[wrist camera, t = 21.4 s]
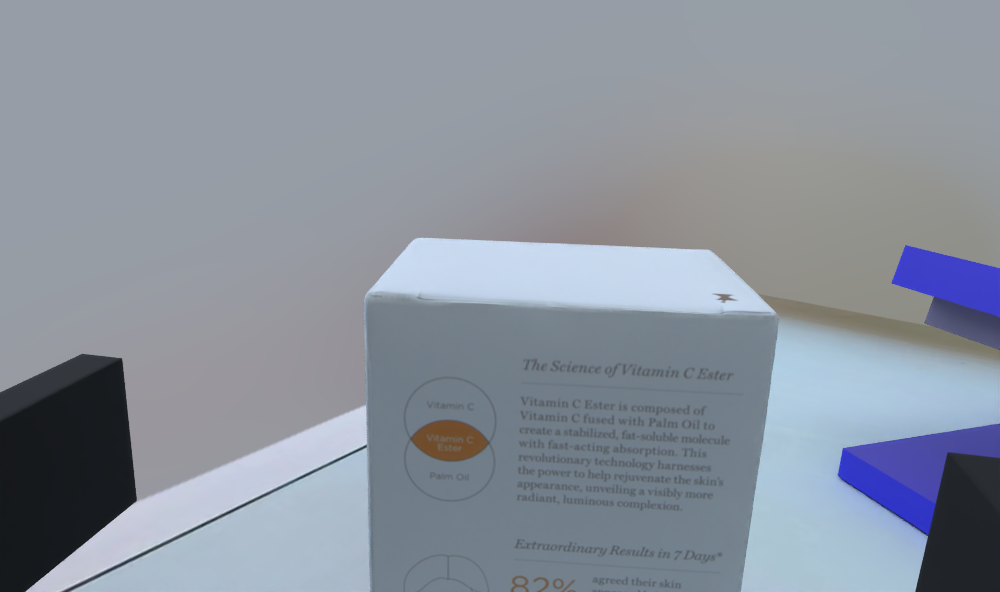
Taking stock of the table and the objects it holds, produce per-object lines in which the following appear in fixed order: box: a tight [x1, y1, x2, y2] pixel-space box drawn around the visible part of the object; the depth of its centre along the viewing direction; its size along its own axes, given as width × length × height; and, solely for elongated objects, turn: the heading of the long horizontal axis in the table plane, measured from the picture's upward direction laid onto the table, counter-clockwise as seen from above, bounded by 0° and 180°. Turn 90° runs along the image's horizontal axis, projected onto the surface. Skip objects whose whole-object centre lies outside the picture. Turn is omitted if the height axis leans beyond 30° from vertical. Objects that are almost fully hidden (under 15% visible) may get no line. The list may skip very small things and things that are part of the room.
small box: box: [364, 238, 778, 592], centre depth 18 cm, size 8×6×10 cm
